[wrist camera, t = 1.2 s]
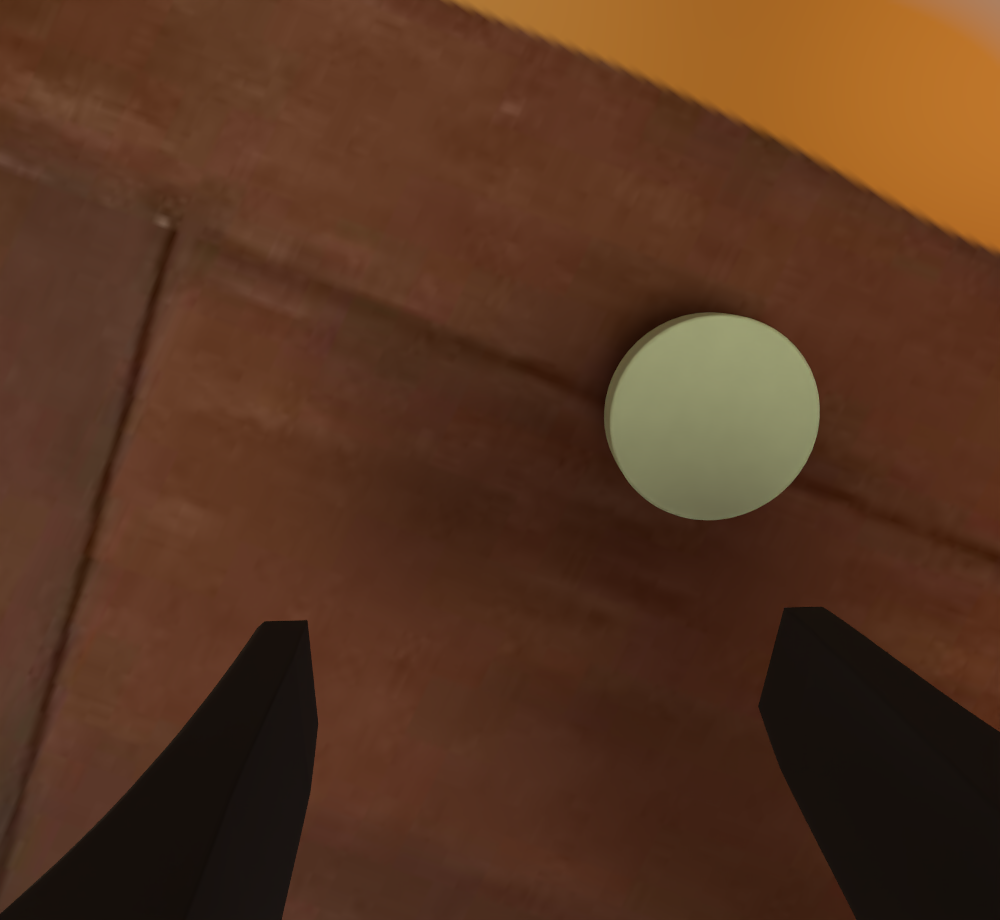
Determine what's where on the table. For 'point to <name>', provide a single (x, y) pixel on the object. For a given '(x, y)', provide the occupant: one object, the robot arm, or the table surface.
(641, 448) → the pad
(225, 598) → the table surface
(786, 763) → the robot arm
